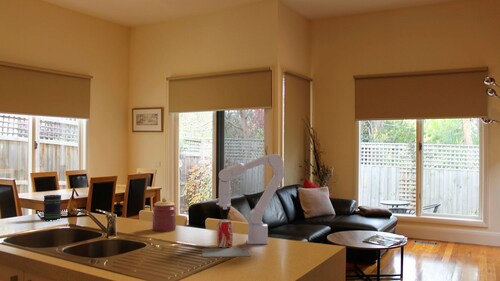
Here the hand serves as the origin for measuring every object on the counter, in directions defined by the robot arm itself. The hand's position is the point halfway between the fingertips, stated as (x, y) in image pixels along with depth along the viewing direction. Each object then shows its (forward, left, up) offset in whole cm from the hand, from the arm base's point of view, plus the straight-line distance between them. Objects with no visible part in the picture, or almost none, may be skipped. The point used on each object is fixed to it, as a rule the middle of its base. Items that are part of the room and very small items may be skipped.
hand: (224, 222), depth 202 cm
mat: (0, +21, -10) cm, 23 cm away
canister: (+32, -32, -10) cm, 47 cm away
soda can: (0, +10, -10) cm, 14 cm away
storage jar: (+104, -67, -10) cm, 124 cm away
